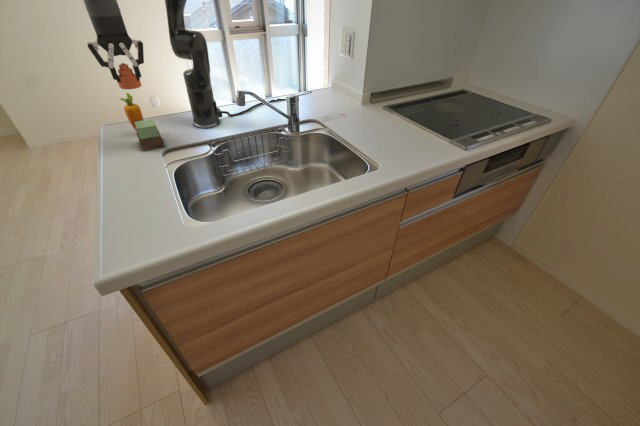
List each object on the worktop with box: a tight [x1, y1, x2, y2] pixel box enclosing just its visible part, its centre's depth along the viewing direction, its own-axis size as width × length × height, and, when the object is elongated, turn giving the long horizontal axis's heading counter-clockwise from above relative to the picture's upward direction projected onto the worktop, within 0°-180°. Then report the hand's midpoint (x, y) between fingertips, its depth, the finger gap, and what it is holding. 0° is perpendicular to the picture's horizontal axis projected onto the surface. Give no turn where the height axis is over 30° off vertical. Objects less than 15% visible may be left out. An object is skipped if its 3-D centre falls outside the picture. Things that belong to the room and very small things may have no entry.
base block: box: [135, 128, 165, 152], centre depth 104 cm, size 7×7×4 cm
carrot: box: [119, 92, 144, 132], centre depth 106 cm, size 5×5×15 cm
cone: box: [117, 62, 142, 90], centre depth 88 cm, size 6×6×6 cm
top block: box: [134, 118, 160, 140], centre depth 101 cm, size 6×6×4 cm
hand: (128, 79), depth 89 cm, fingers closed on cone, 4 cm apart
